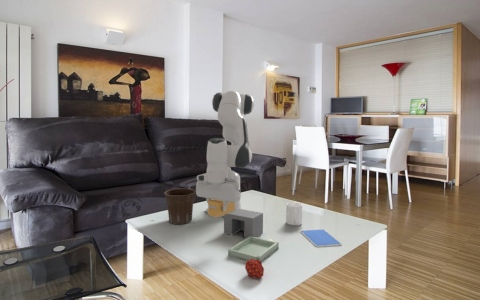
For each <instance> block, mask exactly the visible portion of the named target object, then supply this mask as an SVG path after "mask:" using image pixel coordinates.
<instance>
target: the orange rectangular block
mask: <svg viewBox="0 0 480 300" xmlns="http://www.w3.org/2000/svg"><path fill="white" fill-rule="evenodd" d="M223 205H224V203H223V201H221V200H215V199H213V200H210V201H208V203H207V208H208V212H207V213H208V214H207V215H208V216H210V217H215V218H219V217H223V216H222V215H225V214H227V213H230V212H233V211H235V202H234V203H233V202H229V203H228V205H227V206H226V211H221V207H222V206H223Z"/></svg>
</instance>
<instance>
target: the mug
mask: <svg viewBox="0 0 480 300" xmlns="http://www.w3.org/2000/svg"><path fill="white" fill-rule="evenodd" d="M285 204H286V205H285V206H286V208H285V209H286V211H285V212H286V214H285V222H286V224H287V225H289V226H297V227H298V226H301V225H302V224H303V204H302V203H299V202H295V201H293V202H287V203H285Z"/></svg>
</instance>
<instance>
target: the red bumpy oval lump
mask: <svg viewBox="0 0 480 300" xmlns="http://www.w3.org/2000/svg"><path fill="white" fill-rule="evenodd" d="M244 268H245V271H246V273H247V276H248V277H250V278H252V279H257V278H258V279H259V278H262V277H263V276H264V272H265V271H264V270H265V269H264V266H263V264H262V262H261V261H260V260H255V259H250V260H248V261H246V260H245V267H244Z"/></svg>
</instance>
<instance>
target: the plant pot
mask: <svg viewBox="0 0 480 300" xmlns="http://www.w3.org/2000/svg"><path fill="white" fill-rule="evenodd" d="M164 195H165V201H166V205H167V212H168V213H167V214H168V222H169V223H170V224H172V225H186V223H187V224H189V223H191V222H192V221H193V209H194V200H195V195H196V189H195V190H194V189H190V188H172V189H168V190H166V191H165V192H164Z"/></svg>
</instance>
